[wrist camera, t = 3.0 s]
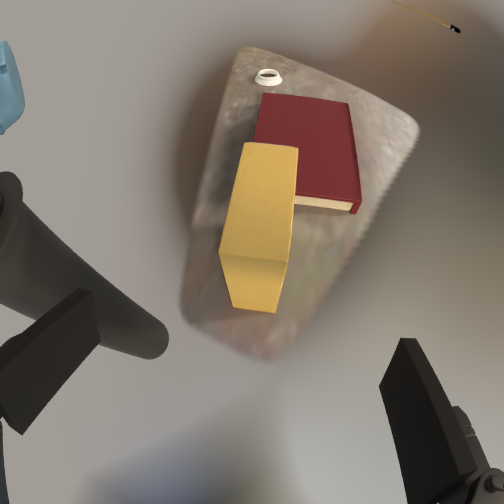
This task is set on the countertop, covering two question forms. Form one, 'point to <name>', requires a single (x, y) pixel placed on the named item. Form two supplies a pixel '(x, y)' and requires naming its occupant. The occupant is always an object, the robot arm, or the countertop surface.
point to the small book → (259, 226)
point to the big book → (314, 147)
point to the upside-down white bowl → (268, 78)
